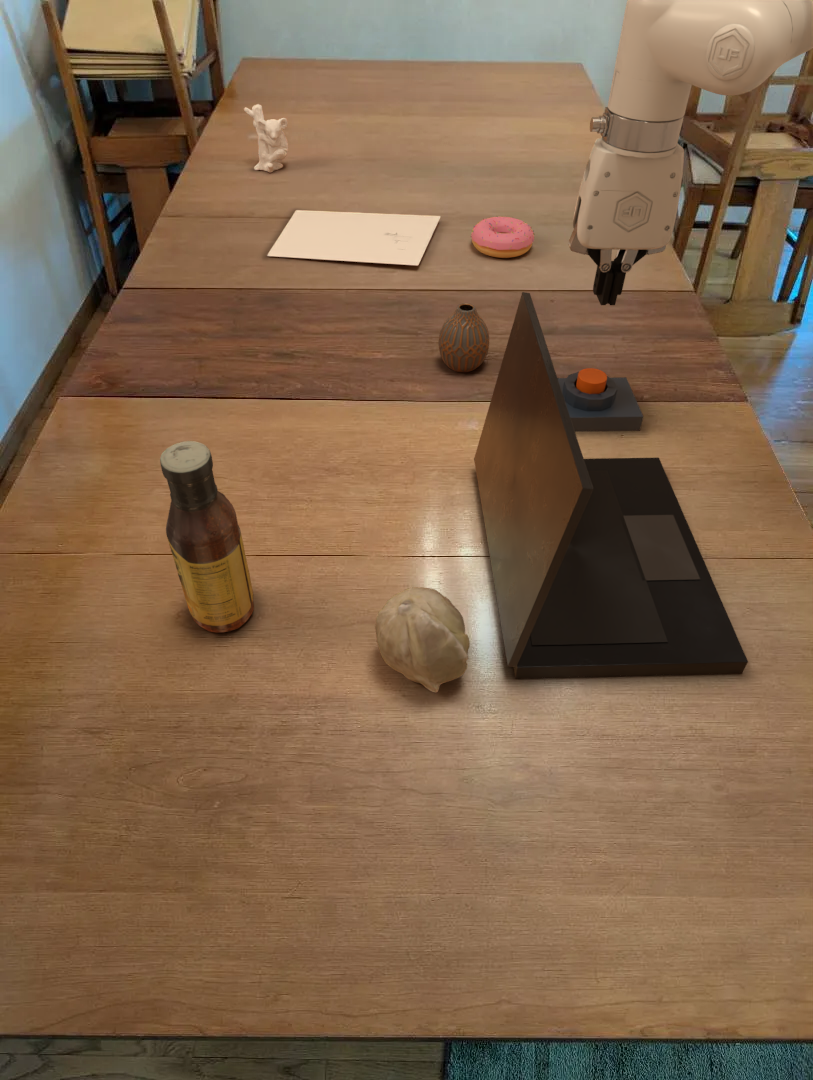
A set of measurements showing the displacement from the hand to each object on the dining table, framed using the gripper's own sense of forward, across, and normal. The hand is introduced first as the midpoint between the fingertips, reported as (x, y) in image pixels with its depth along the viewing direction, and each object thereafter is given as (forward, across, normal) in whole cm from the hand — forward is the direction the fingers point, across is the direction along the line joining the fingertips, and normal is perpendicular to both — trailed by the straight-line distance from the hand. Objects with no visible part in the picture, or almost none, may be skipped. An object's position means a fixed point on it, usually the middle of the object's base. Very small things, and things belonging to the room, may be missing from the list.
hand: (605, 299), depth 92 cm
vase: (+16, -15, +11) cm, 24 cm away
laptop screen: (+3, -13, -27) cm, 31 cm away
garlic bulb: (+16, -23, -40) cm, 49 cm away
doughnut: (+16, -4, +50) cm, 52 cm away
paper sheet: (+16, -30, +54) cm, 64 cm away
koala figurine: (+17, -48, +89) cm, 102 cm away
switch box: (+15, 0, 0) cm, 16 cm away
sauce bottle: (+16, -42, -34) cm, 56 cm away
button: (+12, 0, 0) cm, 12 cm away
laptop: (+15, -4, -28) cm, 32 cm away
